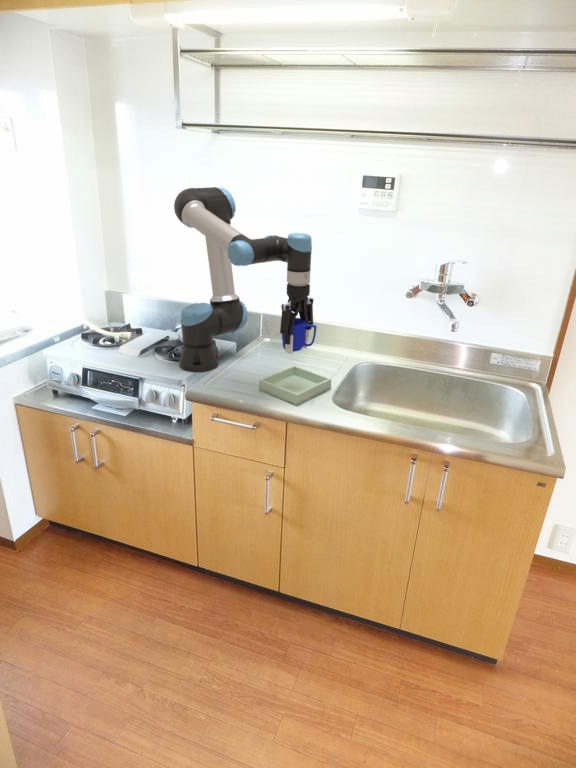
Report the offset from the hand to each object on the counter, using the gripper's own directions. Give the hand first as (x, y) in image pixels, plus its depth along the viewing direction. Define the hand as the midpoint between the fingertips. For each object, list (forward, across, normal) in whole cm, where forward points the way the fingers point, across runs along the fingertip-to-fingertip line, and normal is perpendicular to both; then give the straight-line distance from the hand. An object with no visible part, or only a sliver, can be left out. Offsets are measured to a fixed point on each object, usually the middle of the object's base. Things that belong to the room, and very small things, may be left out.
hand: (296, 349), depth 173 cm
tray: (+15, 0, 0) cm, 15 cm away
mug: (0, +1, 0) cm, 1 cm away
